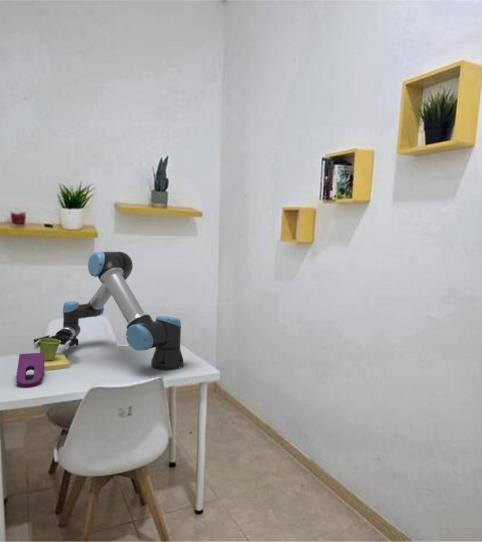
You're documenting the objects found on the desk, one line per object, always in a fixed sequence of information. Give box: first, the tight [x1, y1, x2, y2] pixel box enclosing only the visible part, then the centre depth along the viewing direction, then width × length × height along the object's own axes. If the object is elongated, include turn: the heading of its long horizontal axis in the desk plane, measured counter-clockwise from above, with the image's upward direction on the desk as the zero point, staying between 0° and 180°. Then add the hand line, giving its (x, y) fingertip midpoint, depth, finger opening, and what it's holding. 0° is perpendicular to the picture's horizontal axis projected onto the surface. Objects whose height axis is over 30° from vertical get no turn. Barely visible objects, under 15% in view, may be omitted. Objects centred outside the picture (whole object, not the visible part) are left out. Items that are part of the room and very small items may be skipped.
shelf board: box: [44, 352, 71, 372], centre depth 196 cm, size 20×12×2 cm, turn 31°
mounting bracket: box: [15, 352, 45, 388], centre depth 174 cm, size 9×8×18 cm
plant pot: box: [39, 338, 61, 361], centre depth 195 cm, size 9×9×9 cm
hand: (50, 346), depth 190 cm, fingers open, 13 cm apart
